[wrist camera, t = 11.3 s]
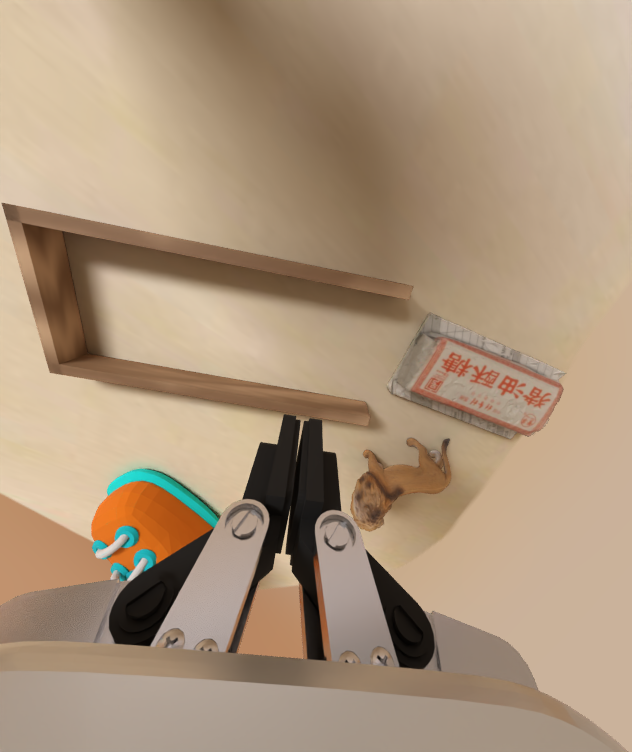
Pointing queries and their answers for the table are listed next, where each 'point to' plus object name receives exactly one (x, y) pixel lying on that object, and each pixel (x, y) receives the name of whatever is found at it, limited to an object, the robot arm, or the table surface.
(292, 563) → the robot arm
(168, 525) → the toy shoe
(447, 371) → the packaged product
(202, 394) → the open-ended wooden frame
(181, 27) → the table surface
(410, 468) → the lion figurine
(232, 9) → the table surface
